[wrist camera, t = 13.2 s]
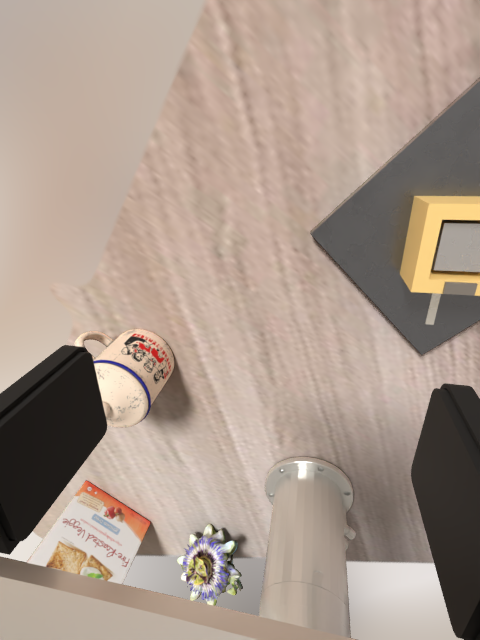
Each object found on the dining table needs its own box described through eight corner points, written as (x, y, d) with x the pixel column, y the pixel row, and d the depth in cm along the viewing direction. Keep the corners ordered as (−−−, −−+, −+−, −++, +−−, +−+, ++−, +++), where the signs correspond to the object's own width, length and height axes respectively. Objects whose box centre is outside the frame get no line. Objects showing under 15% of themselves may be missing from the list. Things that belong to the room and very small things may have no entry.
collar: (505, 196, 31) (538, 205, 26) (481, 277, 34) (507, 298, 29) (414, 195, 32) (430, 204, 28) (399, 273, 36) (411, 293, 31)
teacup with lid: (190, 361, 47) (154, 421, 37) (150, 394, 51) (107, 456, 41) (122, 296, 45) (64, 341, 35) (85, 336, 49) (23, 387, 39)
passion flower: (218, 499, 66) (229, 534, 55) (250, 545, 67) (267, 590, 55) (167, 539, 64) (166, 585, 52) (200, 587, 65) (207, 642, 53)
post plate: (598, 237, 32) (647, 253, 27) (418, 348, 40) (431, 375, 35) (480, 76, 29) (512, 62, 24) (310, 230, 37) (309, 243, 32)
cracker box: (152, 519, 64) (84, 671, 45) (138, 533, 67) (68, 681, 48) (86, 477, 62) (-12, 615, 44) (74, 493, 65) (-23, 630, 47)
